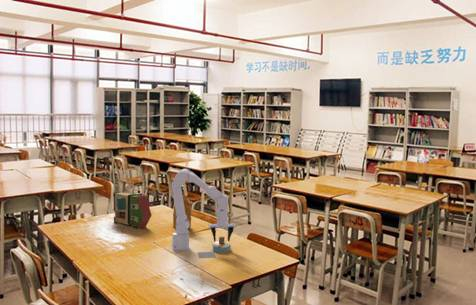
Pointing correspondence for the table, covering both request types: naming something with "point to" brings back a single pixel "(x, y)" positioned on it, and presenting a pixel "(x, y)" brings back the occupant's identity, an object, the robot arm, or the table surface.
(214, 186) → the robot arm
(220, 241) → the lid
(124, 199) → the model house
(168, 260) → the table surface
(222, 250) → the bowl
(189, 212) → the coffee package
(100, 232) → the table surface
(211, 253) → the mat
